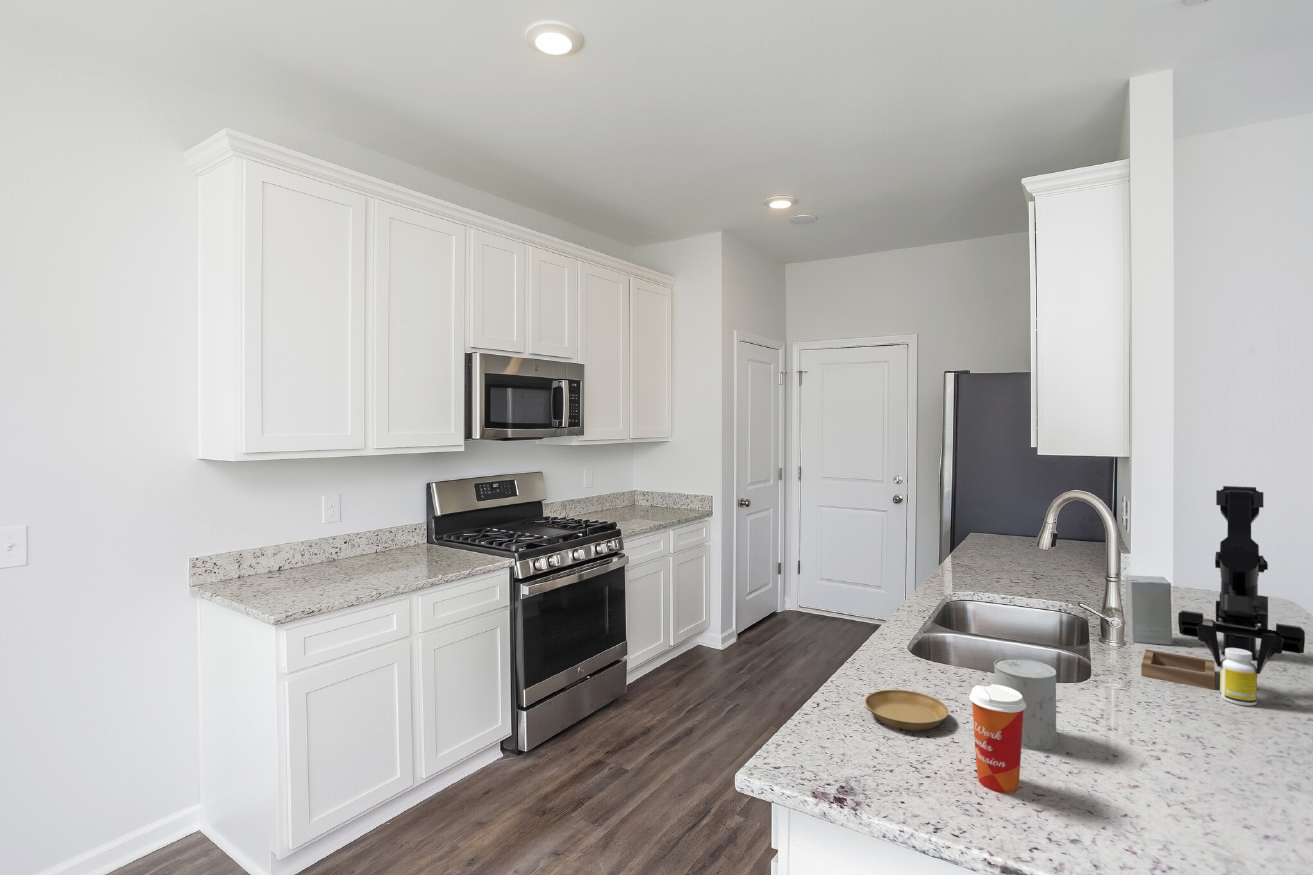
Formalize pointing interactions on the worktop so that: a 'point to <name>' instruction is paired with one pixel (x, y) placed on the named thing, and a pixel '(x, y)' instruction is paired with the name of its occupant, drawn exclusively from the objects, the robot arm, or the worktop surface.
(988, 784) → the paper cup
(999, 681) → the grey concrete cylinder
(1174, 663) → the brown wooden frame
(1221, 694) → the supplement bottle
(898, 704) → the plant saucer
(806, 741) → the worktop surface
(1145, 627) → the skincare box
